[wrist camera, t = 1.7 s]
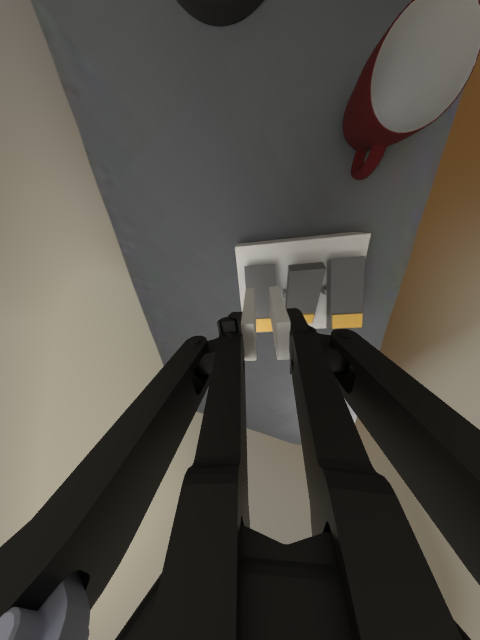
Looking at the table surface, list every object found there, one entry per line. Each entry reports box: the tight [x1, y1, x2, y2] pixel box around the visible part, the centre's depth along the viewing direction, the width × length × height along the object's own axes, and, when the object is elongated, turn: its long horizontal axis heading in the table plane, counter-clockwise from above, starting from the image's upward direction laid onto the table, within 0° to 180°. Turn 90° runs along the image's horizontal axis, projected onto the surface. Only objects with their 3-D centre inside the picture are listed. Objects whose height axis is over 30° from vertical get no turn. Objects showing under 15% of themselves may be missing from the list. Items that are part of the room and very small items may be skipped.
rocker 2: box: [285, 262, 326, 324], centre depth 27 cm, size 10×4×2 cm, turn 5°
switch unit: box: [235, 232, 371, 329], centre depth 31 cm, size 15×19×7 cm
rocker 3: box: [326, 256, 365, 330], centre depth 26 cm, size 10×4×2 cm, turn 6°
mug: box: [343, 0, 480, 180], centre depth 20 cm, size 11×8×10 cm
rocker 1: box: [244, 264, 276, 333], centre depth 27 cm, size 10×4×2 cm, turn 6°
